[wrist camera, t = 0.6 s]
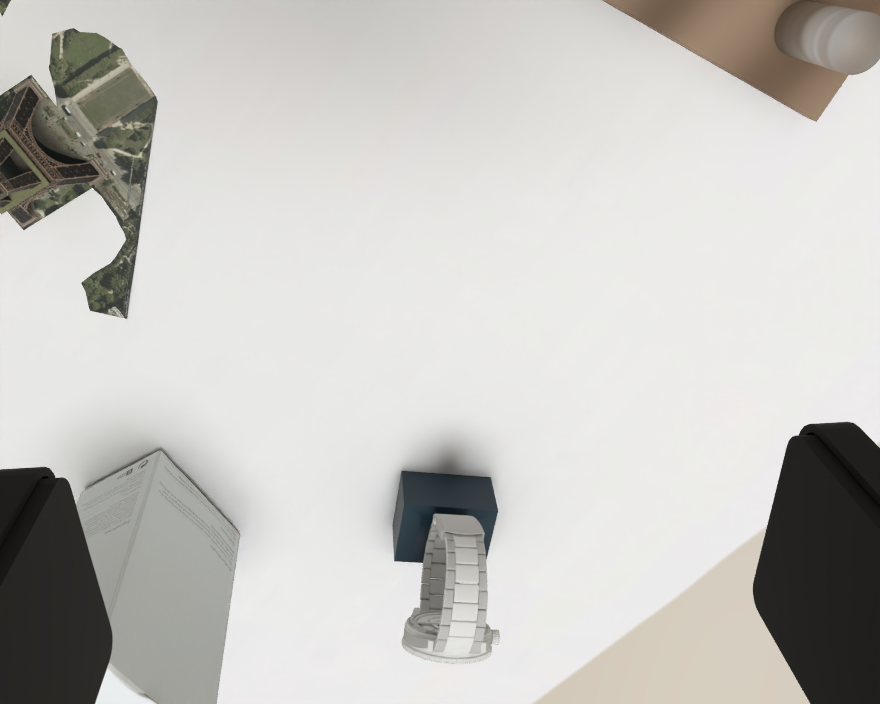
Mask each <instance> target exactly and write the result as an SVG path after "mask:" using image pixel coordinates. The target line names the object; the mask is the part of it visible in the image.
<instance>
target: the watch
mask: <svg viewBox="0 0 880 704" xmlns="http://www.w3.org/2000/svg"><path fill="white" fill-rule="evenodd" d="M497 513H498V508H497V504H496V499H495V495H494V491H493V486H492V482H491V478H490V477H476V476H463V475H449V474H435V473H422V472H408V471H402V472H401V478H400V484H399V490H398V496H397V503H396V509H395V515H394V521H393V543H394V561H401V562H419V563H423V567H426V568H423V569H422V578H421V583H425V584H421V593H420V608H414V610H413V613H412V615H411V617H409V618H408V619H407V621H406V623H405V629H404V636H403V638H402V646H403V648H404V649H405V650H406V651H407V652H409V653H410V654H412V655H415V656H417V657H420V658H422V659H426V660H430V661H434V662H440V663H449V664H466V663H474V662H479V661H482V660H485V659H487V658H488V657H489V656H490V655H491V652H492V646H491V644H492V645H498V644H499V639H500V635H499V630H491V629H490V627H489V625H488V624H486V615H487V610H486V609H487V602H488V592H487V573H486V572H487V565H486V559H487V555H488V550H489V546H490V542H491V538H492V534H493V530H494V525H495V521H496V517H497ZM430 578H439V579H430ZM460 583H474V584H460ZM479 590H484V591H479ZM435 595H444V596H435ZM462 602H466V603H462Z"/></svg>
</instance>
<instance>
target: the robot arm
mask: <svg viewBox="0 0 880 704" xmlns="http://www.w3.org/2000/svg"><path fill="white" fill-rule="evenodd" d="M753 595H754V601H755V605H756V608H757V610H758V612H759V614H760V616H761V617H762V619H763V621H764V623H765V625H766V626H767V628H768V630H769V632H770V633H771V635H772V637H773V638H774V640H775V642H776V644H777V646H778V647H779V649H780V651H781V653H782V654H783V656H784V658H785V660H786V662H787V663H788V665H789V667H790V669H791V670H792V672H793V674H794V675H795V677H796V679H797V681H798V683H799V684H800V686H801V688H802V690H803V691H804V693H805V695H806V697H807V698H808V700H809V702H810V704H880V448H879V447H878V446H877V445H876V444H875V443H874V442H873V441H872V440H871V439H870V438H869V437H868V436H867V435H866V434H865V433H864V432H863V430H862V429H861V428H860V427H858V426H857V425H856V424H854V423H850V422H839V423H821V424H809V425H806V426H804V427H803V429H802V430H801V431H800V434H799V436H794V437H792V438H791V439H790V440H789V442H788V445H787V448H786V452H785V456H784V460H783V465H782V469H781V473H780V477H779V481H778V485H777V489H776V493H775V497H774V501H773V505H772V509H771V513H770V517H769V521H768V525H767V529H766V534H765V538H764V542H763V546H762V550H761V554H760V558H759V562H758V566H757V570H756V575H755V578H754V583H753ZM112 644H113V636H112V629H111V625H110V621H109V618H108V614H107V611H106V607H105V604H104V600H103V597H102V594H101V590H100V587H99V583H98V580H97V576H96V573H95V569H94V566H93V563H92V559H91V556H90V552H89V549H88V545H87V542H86V538H85V535H84V531H83V528H82V525H81V521H80V518H79V514H78V511H77V507H76V504H75V500H74V497H73V494H72V490H71V487H70V484H69V482H68V481H67V480H66V479H65V478H55V475H54V473H53V472H52V471H51V470H50V468H47V467H37V468H19V469H1V470H0V704H95V702H96V699H97V696H98V693H99V690H100V688H101V685H102V682H103V679H104V676H105V673H106V670H107V667H108V664H109V661H110V657H111V653H112Z"/></svg>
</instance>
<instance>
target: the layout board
mask: <svg viewBox="0 0 880 704" xmlns="http://www.w3.org/2000/svg"><path fill="white" fill-rule="evenodd" d="M603 1H604V2H606V3H608V4H610V5H611V6H613V7H615V8H617V9H618V10H620V11H622V12H624V13H625V14H627V15H629V16H631V17H632V18H634V19H636V20H638V21H639V22H641V23H643V24H645V25H646V26H648V27H650V28H652V29H653V30H655V31H657V32H659V33H660V34H662V35H664V36H666V37H667V38H669V39H671V40H673V41H674V42H676V43H678V44H680V45H681V46H683V47H685V48H686V49H688V50H690V51H692V52H693V53H695V54H697V55H699V56H700V57H702V58H704V59H706V60H707V61H709V62H711V63H713V64H714V65H716V66H718V67H720V68H721V69H723V70H725V71H727V72H728V73H730V74H732V75H734V76H735V77H737V78H739V79H741V80H742V81H744V82H746V83H748V84H749V85H751V86H753V87H755V88H756V89H758V90H760V91H762V92H763V93H765V94H767V95H768V96H770V97H772V98H774V99H775V100H777V101H779V102H781V103H782V104H784V105H786V106H788V107H789V108H791V109H793V110H795V111H796V112H798V113H800V114H802V115H803V116H805V117H807V118H809V119H811V120H814V121H816V122H817V120H818V119H819V117H820V116H821V114H822V113H823V111H824V110H825V108H826V107H827V106H828V104H829V103H830V101H831V100H832V98H833V97H834V95H835V94H836V92H837V91H838V90H839V88H840V87H841V85H842V84H843V82H844V81H845V79H846V78H847V76H848V75H855V74H859V73H862V72H865V71H866V70H868V69H870V68H871V67H872V66H874V65H875V64H876V63H877V62H878V60H879V59H880V0H603Z"/></svg>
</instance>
